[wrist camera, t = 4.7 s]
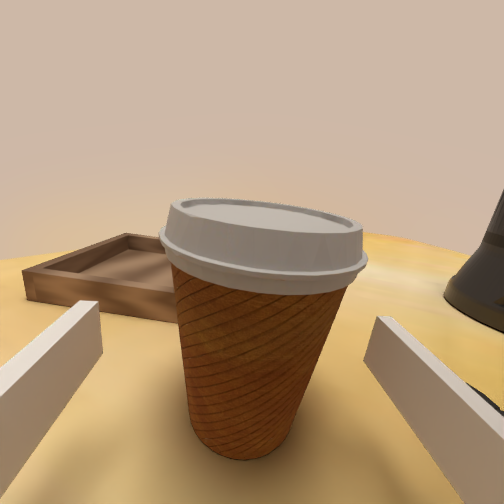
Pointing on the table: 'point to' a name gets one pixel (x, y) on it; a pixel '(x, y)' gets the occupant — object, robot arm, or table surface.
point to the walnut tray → (109, 278)
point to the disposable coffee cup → (254, 311)
